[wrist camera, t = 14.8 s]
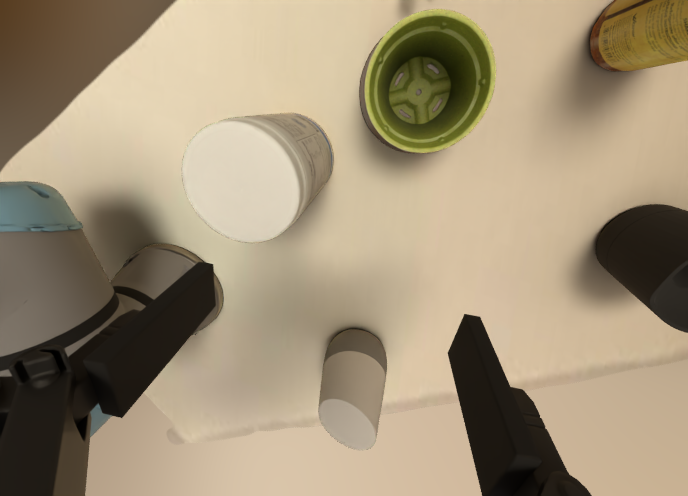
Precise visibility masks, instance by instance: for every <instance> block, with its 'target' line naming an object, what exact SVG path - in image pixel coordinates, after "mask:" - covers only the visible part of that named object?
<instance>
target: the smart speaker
mask: <svg viewBox="0 0 688 496" xmlns="http://www.w3.org/2000/svg"><path fill="white" fill-rule="evenodd" d="M386 372H387V358H386V353H385V350H384V347H383V345H382V344H381V342H380V341H379V340H378V339H377V338H376V337H375V336H374V335H372V334H371V333H369V332H366V331H363V330H357V329H352V330H346V331H343V332H341V333H340V334H338V335H337V336H336V337H335V338H334V339H333V340H332V341H331V343H330V344H329V346H328V349H327V351H326V354H325V359H324V364H323V371H322V381H321V390H320V400H319V411H318V412H319V418H320V421H321V423H322V425H323V426H324V428H325V429H326V431H327V432H328V433H329V434H330V435H331V436H332V437H333V438H334V439H336V440H337V441H338V442H339V443H341V444H343V445H345V446H346V447H349V448H352V449H355V450H368V449H370V448H371V447H373V446H374V444H375V442H376V437H377V431H378V424H379V417H380V412H381V406H382V400H383V393H384V387H385V381H386Z"/></svg>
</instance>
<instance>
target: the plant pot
mask: <svg viewBox="0 0 688 496" xmlns="http://www.w3.org/2000/svg"><path fill="white" fill-rule="evenodd" d="M428 64H433V65H434V66H435V67H437V68H438V70H439V74H436V73H435V72H434V71H433V70H432V69H430V68H428V67H427V65H428ZM402 72H403V73H404V75H403V76H402V78H401V79H400V81H399V82H398V85H397V86H395V82H396V79H397V78H398V76H399V74H400V73H402ZM495 79H496V63H495V57H494V52H493V49H492V46H491V44H490V42H489V40H488V38H487V36H486V34H485V33H484V32H483V30H482V29H481V28H480V27H479V26H478V25H477V24H476V23H475V22H474V21H472V20H471V19H469V18H468V17H466V16H464V15H462V14H460V13H457V12H455V11H450V10H443V9H432V10H425V11H421V12H418V13H415V14H412V15H410V16H408V17H406V18H405V19H403V20H401V21H400V22H398V23H397V24H396V25H395V26H393V27H392V28H391V29H390V30H389V31H388V32H387V33H386V34H385V36H384V37H383V38H382V40H381V41H380V42H379V44H378V45H377V47H376V49H375V51H374V53H373V55H372V57H371V59H370V62H369V65H368V68H367V72H366V78H365V102H366V107H367V111H368V115H369V117H370V120H371V122H372V124H373V125H374V127H375V129H376V130H377V131H378V133H379V134H380V135H381V136H382V137H383V138H384V139H385V140H386V141H388V142H389V143H390V144H392V145H393V146H395V147H397V148H399V149H402V150H405V151H409V152H414V153H430V152H436V151H439V150H442V149H445V148H448V147H450V146H452V145H454V144H455V143H457V142H458V141H460V140H461V139H463V138H464V137H465V136H466V135H468V134H469V133H470V132H471V131H472V130H473V129H474V127H475V126H476V125H477V124H478V122H479V121H480V120H481V118H482V117H483V115H484V113H485V111H486V110H487V108H488V105H489V103H490V101H491V98H492V95H493V91H494V87H495ZM418 89H420V90H421V94H420V95H417V94H416V91H417V90H418ZM440 98H442V102H441V104H440V105H439V108H438V109H437V110H436V111H435V112H434V111H433V108H434V107H435V106H436V105H437V103H438V102H439V100H440ZM400 109H402V110H403V111H404V112H405V113H406V114H408V115H409V116H411V118H407V117H404V116H403V115H402V114H400V112H399V110H400Z"/></svg>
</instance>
